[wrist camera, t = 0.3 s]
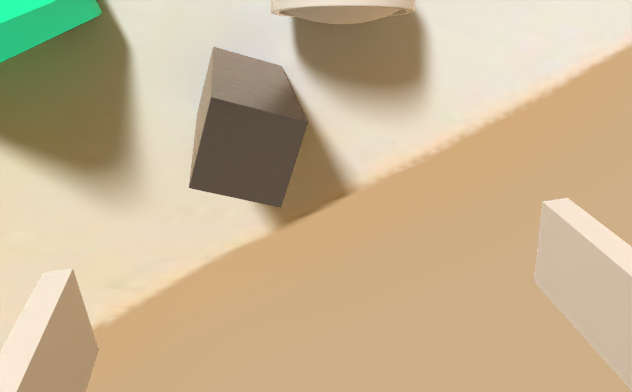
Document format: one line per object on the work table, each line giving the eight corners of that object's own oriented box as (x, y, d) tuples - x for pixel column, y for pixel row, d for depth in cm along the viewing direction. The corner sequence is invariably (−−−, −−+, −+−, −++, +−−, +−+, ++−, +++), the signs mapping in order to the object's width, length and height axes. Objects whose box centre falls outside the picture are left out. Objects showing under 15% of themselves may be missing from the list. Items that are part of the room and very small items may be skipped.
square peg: (197, 113, 37) (188, 187, 26) (213, 46, 35) (211, 97, 24) (263, 129, 38) (280, 207, 27) (281, 66, 36) (307, 122, 26)
